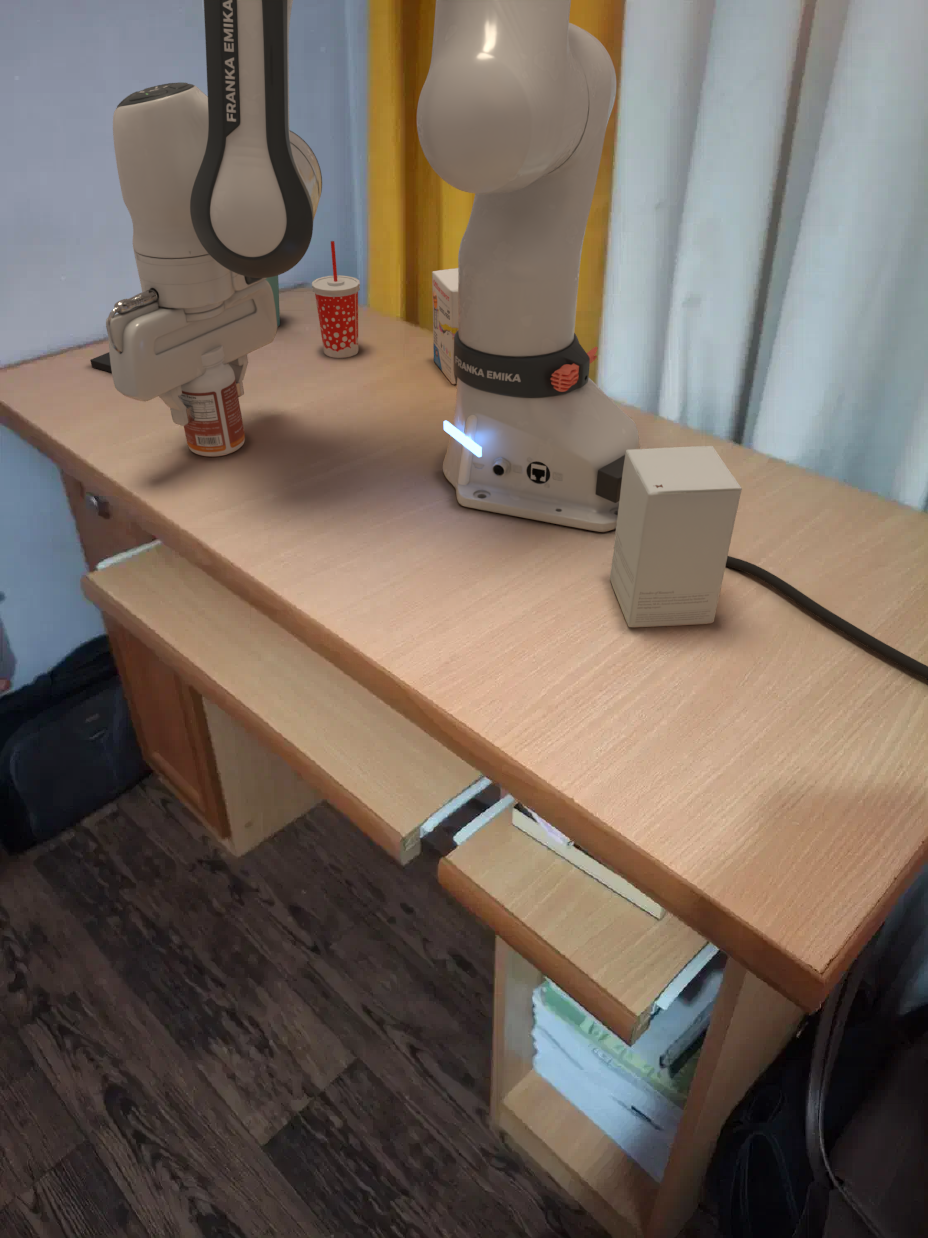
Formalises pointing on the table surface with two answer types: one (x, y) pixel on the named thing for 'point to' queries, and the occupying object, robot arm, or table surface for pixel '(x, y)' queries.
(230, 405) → the pill bottle
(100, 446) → the table surface
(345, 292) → the beverage cup
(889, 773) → the table surface
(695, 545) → the white packaging box
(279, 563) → the table surface
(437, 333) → the ink box
